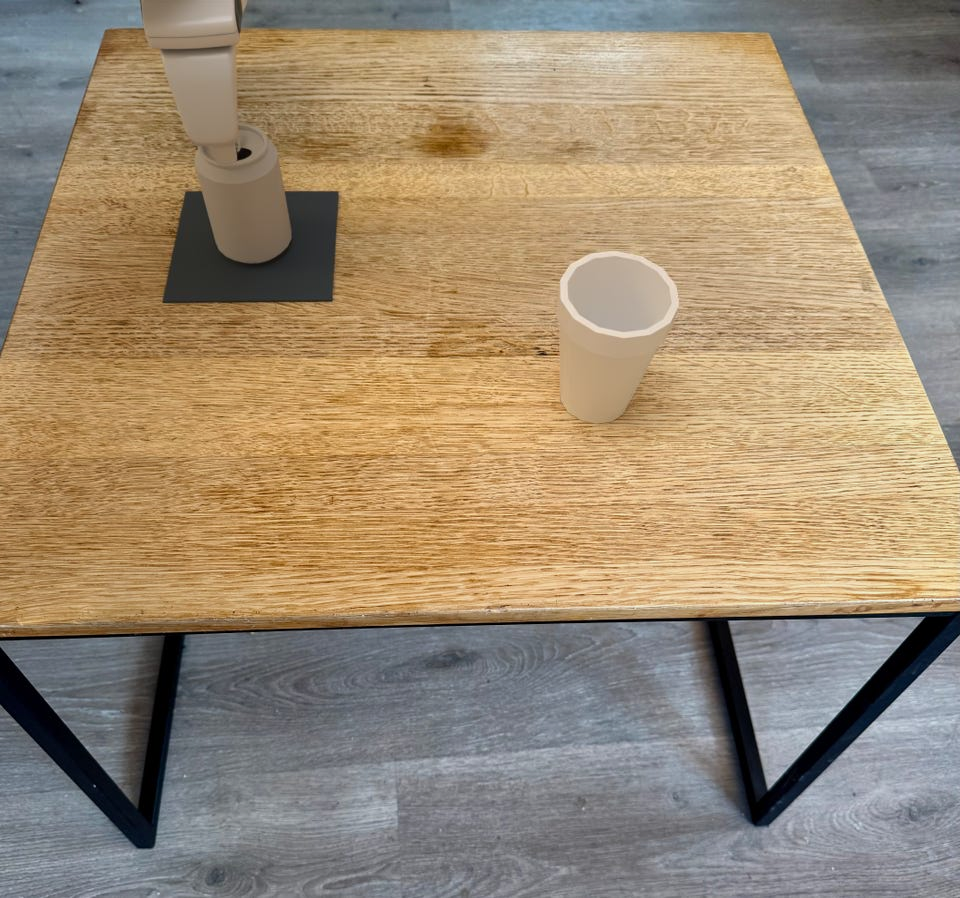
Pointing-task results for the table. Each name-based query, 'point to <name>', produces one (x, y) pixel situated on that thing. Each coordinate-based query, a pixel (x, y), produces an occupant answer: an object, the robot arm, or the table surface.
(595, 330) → the foam cup
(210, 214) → the can
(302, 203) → the mat
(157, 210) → the table surface
